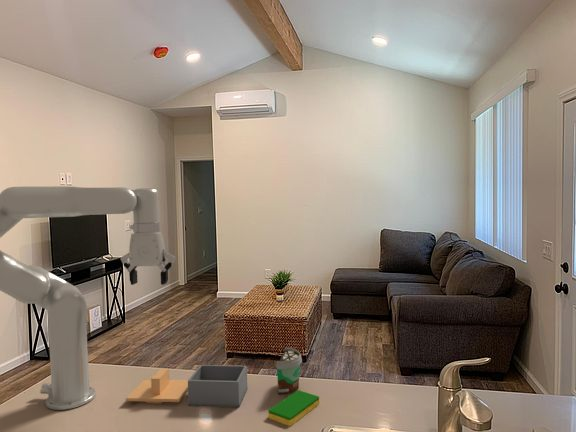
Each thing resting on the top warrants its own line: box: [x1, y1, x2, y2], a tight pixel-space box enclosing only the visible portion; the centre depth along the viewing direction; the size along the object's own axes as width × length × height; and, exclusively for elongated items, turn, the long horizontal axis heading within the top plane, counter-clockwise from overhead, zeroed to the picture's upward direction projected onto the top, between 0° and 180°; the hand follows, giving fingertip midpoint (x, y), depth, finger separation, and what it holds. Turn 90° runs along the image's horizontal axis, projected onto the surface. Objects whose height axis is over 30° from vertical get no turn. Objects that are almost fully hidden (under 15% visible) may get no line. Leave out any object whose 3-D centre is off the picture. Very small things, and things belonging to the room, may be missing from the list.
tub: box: [187, 364, 248, 409], centre depth 121 cm, size 14×11×7 cm
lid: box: [125, 367, 189, 404], centre depth 123 cm, size 15×12×6 cm
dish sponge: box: [267, 389, 320, 427], centre depth 113 cm, size 7×14×2 cm, turn 144°
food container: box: [276, 347, 303, 396], centre depth 126 cm, size 12×6×10 cm, turn 168°
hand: (149, 283), depth 132 cm, fingers open, 9 cm apart
